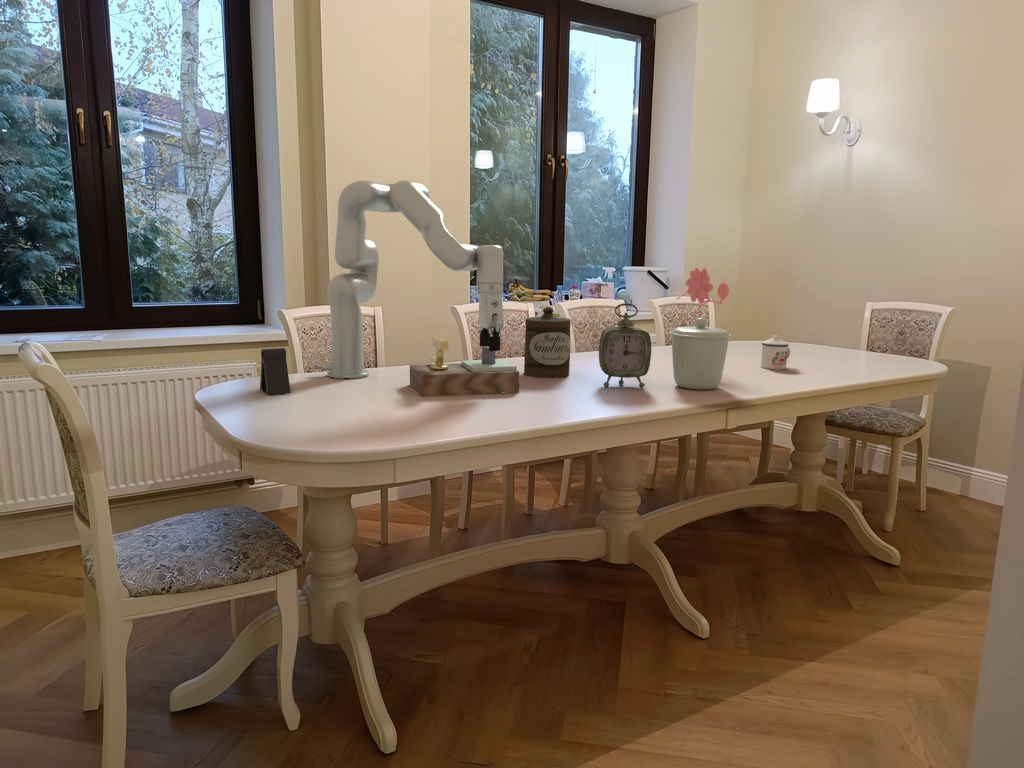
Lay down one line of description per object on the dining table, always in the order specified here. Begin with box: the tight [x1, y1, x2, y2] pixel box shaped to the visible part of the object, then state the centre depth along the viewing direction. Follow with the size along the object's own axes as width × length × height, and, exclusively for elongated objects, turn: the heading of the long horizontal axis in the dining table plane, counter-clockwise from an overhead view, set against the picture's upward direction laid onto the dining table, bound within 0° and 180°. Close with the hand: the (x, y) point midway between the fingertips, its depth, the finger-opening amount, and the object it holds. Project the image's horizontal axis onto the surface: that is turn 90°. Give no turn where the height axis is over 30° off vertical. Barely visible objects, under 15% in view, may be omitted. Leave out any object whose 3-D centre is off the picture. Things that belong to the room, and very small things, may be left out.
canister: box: [669, 317, 732, 391], centre depth 224 cm, size 18×18×21 cm
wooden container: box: [523, 306, 572, 379], centre depth 242 cm, size 15×15×22 cm
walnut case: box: [409, 362, 520, 398], centre depth 215 cm, size 28×18×6 cm, turn 108°
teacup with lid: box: [760, 334, 791, 371], centre depth 266 cm, size 12×9×12 cm
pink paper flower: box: [676, 267, 730, 327], centre depth 262 cm, size 15×26×35 cm, turn 28°
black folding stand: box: [259, 347, 291, 396], centre depth 204 cm, size 9×6×12 cm, turn 32°
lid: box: [460, 346, 518, 372], centre depth 216 cm, size 13×13×6 cm
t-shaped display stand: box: [427, 336, 449, 370], centre depth 214 cm, size 15×5×8 cm, turn 20°
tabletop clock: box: [598, 303, 652, 389], centre depth 223 cm, size 14×9×25 cm, turn 92°
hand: (489, 348), depth 216 cm, fingers open, 9 cm apart
